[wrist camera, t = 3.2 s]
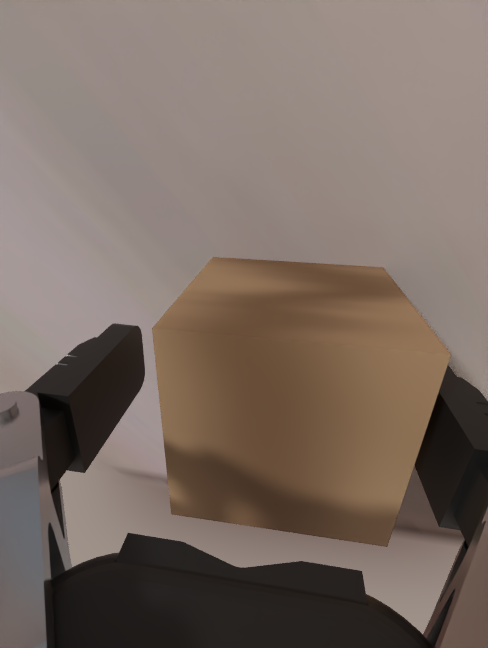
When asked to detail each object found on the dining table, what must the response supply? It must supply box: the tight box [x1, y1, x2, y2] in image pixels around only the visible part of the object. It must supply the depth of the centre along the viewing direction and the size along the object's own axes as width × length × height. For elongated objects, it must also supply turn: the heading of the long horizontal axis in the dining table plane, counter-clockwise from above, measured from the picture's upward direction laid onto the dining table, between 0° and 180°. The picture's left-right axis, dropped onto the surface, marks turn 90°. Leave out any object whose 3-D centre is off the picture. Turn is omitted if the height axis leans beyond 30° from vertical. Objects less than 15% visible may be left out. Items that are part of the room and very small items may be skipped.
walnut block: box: [152, 257, 451, 547], centre depth 10 cm, size 6×6×6 cm
